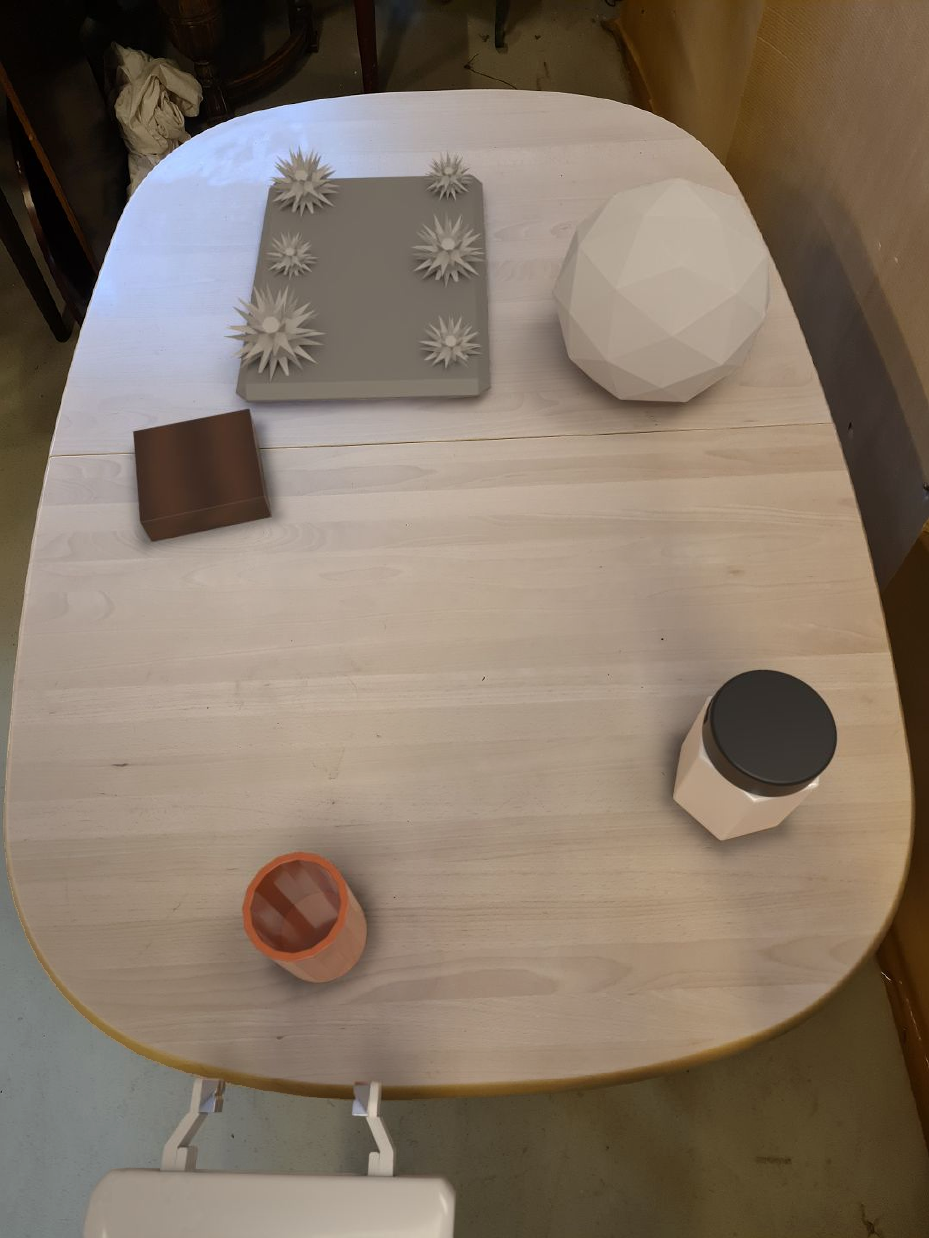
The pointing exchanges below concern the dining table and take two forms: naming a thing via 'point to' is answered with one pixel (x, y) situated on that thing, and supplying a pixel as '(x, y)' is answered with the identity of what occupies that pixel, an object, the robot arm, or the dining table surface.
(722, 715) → the jar
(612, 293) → the sphere
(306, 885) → the pot
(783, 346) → the dining table surface
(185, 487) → the stand
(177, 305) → the dining table surface
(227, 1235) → the robot arm
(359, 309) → the decorative tray
